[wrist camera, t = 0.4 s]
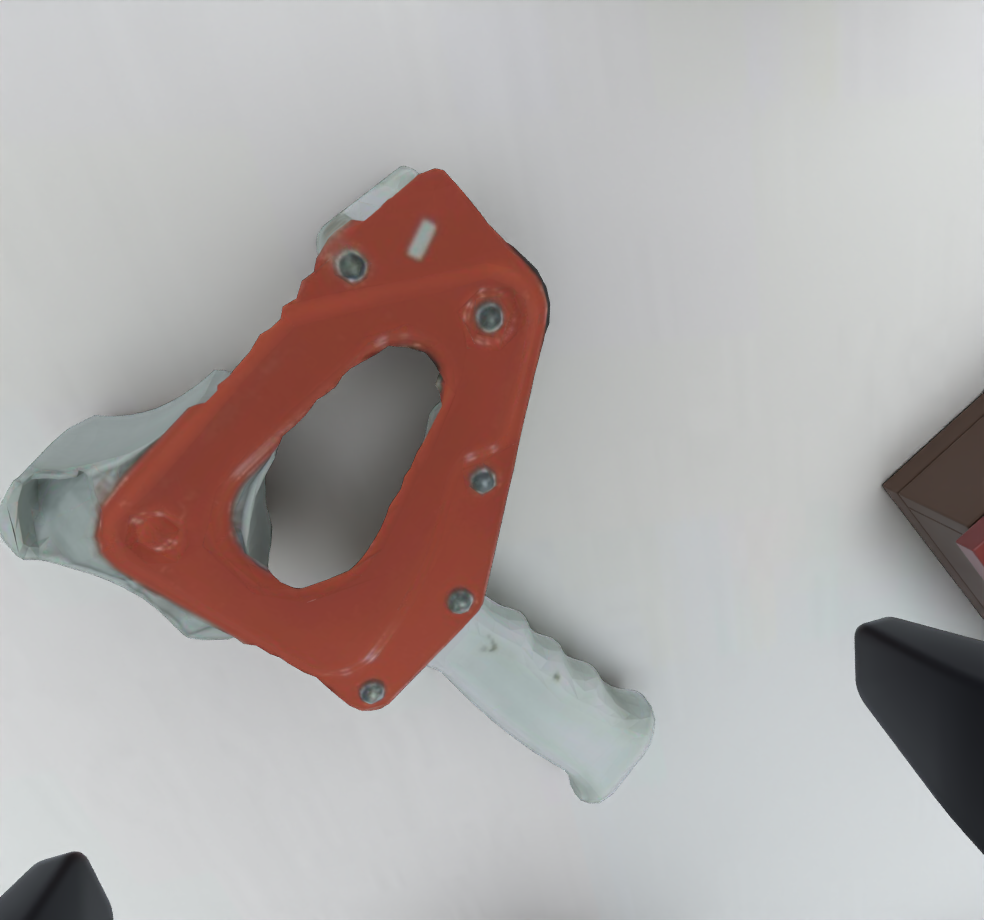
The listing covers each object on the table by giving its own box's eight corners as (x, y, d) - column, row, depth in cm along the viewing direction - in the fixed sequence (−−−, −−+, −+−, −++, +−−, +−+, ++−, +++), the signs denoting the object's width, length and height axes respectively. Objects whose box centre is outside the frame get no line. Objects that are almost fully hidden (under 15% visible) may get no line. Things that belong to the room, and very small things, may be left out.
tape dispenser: (605, 726, 28) (686, 186, 21) (666, 840, 23) (798, 189, 16) (119, 786, 24) (10, 138, 17) (70, 940, 19) (-113, 122, 12)
